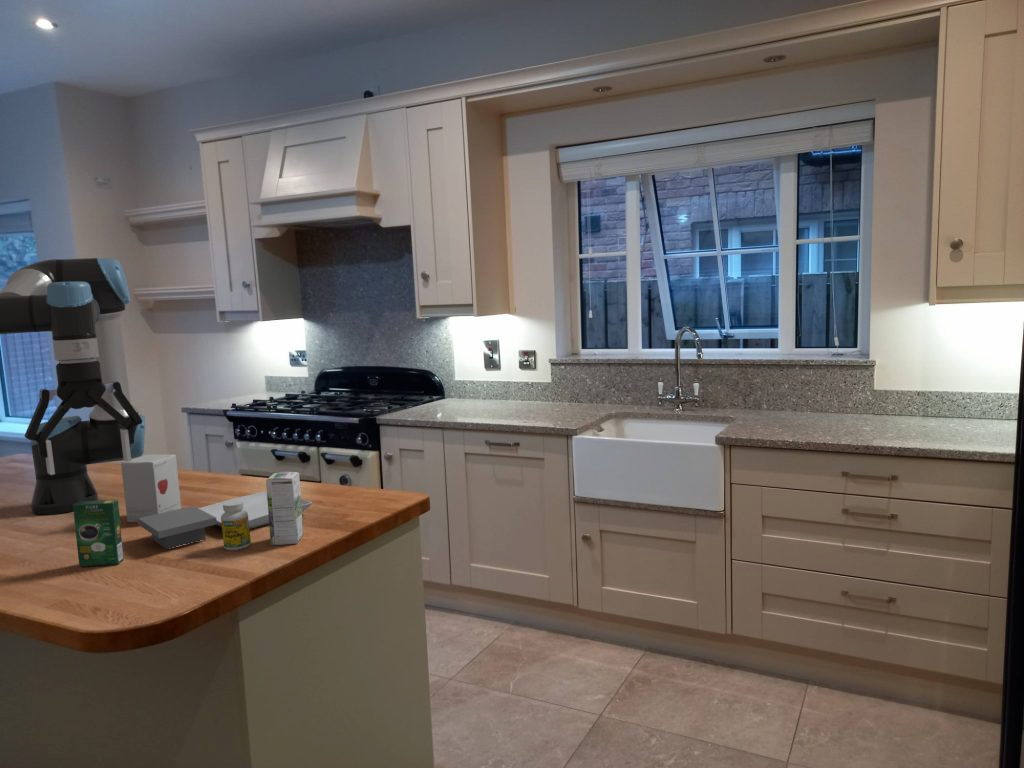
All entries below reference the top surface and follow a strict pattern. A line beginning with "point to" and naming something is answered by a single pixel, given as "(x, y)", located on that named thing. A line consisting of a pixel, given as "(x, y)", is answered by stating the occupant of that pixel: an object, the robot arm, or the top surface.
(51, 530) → the top surface
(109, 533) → the coffee box
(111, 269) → the robot arm
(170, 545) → the grey stand
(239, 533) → the supplement bottle
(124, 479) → the supplement box
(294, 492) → the syrup box
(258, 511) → the salad plate
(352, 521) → the top surface
